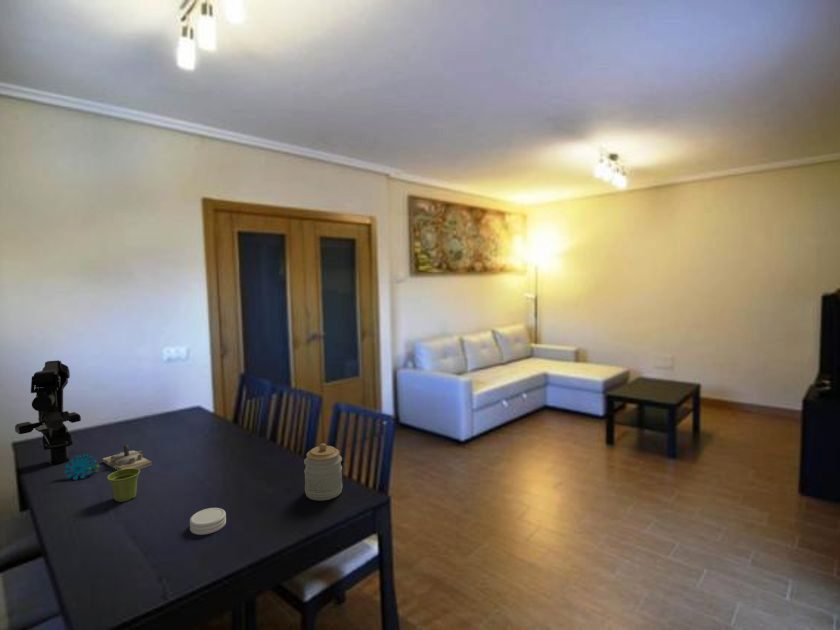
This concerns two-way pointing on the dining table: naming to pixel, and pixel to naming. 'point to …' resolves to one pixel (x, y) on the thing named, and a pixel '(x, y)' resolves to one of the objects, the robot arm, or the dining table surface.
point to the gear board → (135, 465)
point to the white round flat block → (207, 521)
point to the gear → (81, 467)
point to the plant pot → (124, 483)
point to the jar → (323, 473)
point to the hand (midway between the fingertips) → (50, 444)
